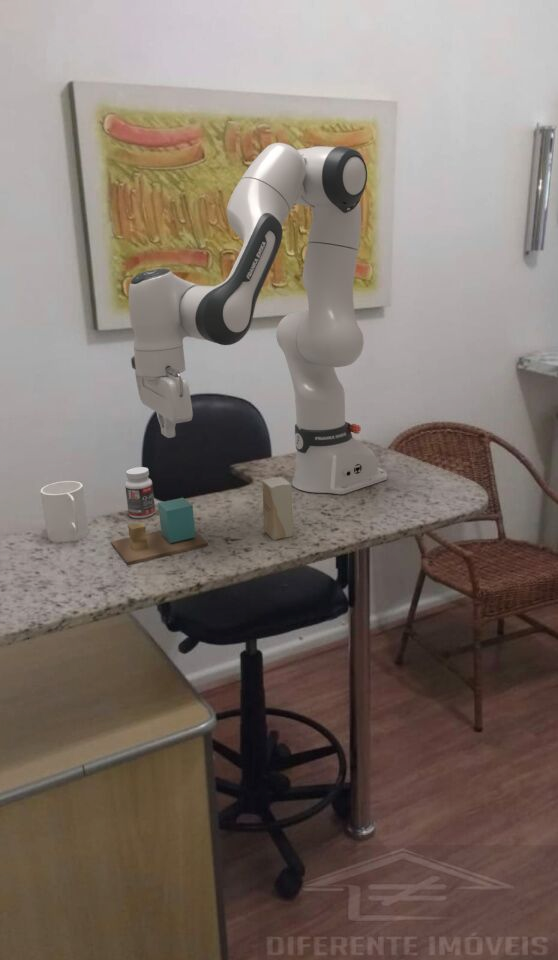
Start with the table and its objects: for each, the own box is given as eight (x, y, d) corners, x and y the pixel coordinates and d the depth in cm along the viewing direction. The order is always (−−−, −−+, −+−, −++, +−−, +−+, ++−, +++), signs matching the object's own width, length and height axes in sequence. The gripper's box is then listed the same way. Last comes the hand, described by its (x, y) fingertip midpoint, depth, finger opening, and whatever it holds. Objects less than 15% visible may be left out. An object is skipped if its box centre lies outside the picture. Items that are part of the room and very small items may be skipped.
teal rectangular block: (186, 528, 150) (183, 497, 148) (195, 537, 145) (192, 505, 143) (161, 534, 148) (157, 502, 145) (170, 543, 143) (166, 511, 141)
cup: (60, 552, 144) (52, 503, 141) (43, 532, 154) (35, 486, 151) (101, 541, 148) (94, 493, 145) (81, 523, 158) (75, 478, 155)
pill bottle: (149, 519, 158) (144, 475, 155) (124, 518, 159) (119, 474, 156) (159, 509, 163) (154, 466, 160) (134, 508, 164) (129, 466, 161)
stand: (188, 526, 153) (185, 494, 151) (208, 545, 144) (205, 511, 141) (111, 544, 146) (107, 511, 144) (127, 565, 137) (122, 530, 135)
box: (263, 531, 149) (260, 479, 145) (283, 527, 150) (281, 475, 147) (274, 540, 144) (271, 487, 141) (294, 536, 146) (292, 483, 142)
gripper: (197, 368, 128) (204, 445, 133) (159, 353, 146) (167, 421, 150) (162, 374, 126) (171, 452, 130) (127, 357, 143) (136, 427, 148)
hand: (168, 435), depth 140 cm, fingers closed
